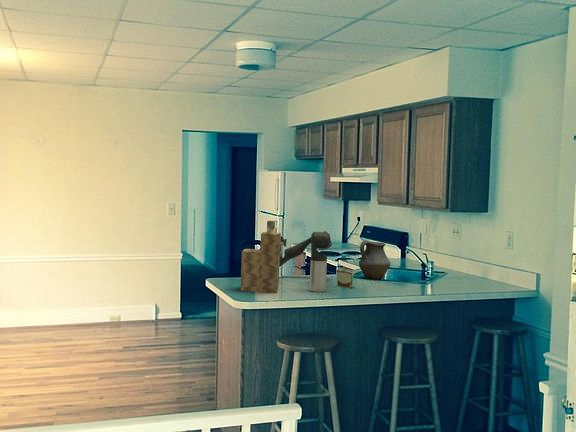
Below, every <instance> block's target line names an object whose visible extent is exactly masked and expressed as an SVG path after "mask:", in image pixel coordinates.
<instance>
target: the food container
mask: <svg viewBox="0 0 576 432" xmlns="http://www.w3.org/2000/svg"><path fill="white" fill-rule="evenodd" d="M335 273H336V286H337V287H339V286H341V287H340V288H344V287H347V288H346V289H352V288H353V283H354V282H353V281H354V276H355V271H354V270H353V269H346V268H345V269H344V268H342V269H341V268H337V269H336V270H335Z"/></svg>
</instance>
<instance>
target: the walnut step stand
mask: <svg viewBox="0 0 576 432" xmlns="http://www.w3.org/2000/svg"><path fill="white" fill-rule="evenodd" d="M281 234H282V233H281V232H276V233H275V234H267V231H263V232H262V233H260V246H259V247H260V248H259V249H258V248H257V249H256V248H244V249H243V250H242V251H241V267H240V269H241V270H240V292H250V293H267V294H268V293H272V294H275V293H276V294H277V293H278V291H279V287H280V284H279V283H280V267H279V265H280V241H281V236H282V235H281Z"/></svg>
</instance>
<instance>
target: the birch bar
mask: <svg viewBox="0 0 576 432" xmlns="http://www.w3.org/2000/svg"><path fill="white" fill-rule="evenodd" d="M266 232H267V234H275V233H278V225H276V220H267V221H266Z"/></svg>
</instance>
